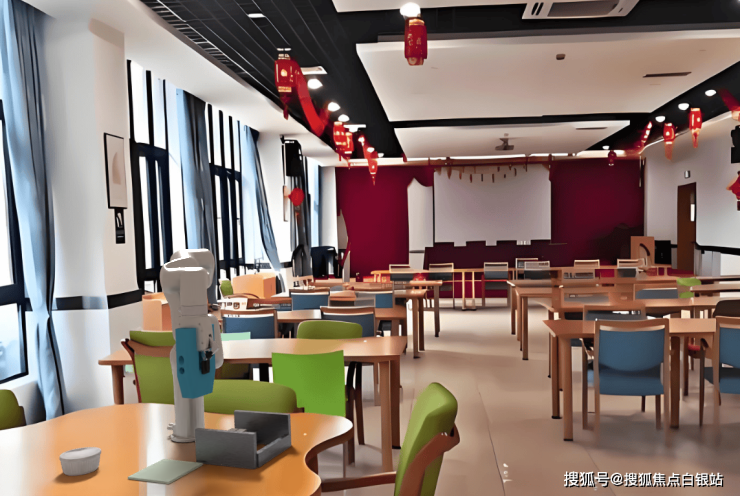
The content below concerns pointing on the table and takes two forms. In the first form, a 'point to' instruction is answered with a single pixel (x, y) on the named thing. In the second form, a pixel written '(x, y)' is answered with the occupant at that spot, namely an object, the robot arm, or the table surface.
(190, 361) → the block
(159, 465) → the mat
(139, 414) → the table surface
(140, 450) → the table surface
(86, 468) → the ramekin
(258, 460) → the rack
